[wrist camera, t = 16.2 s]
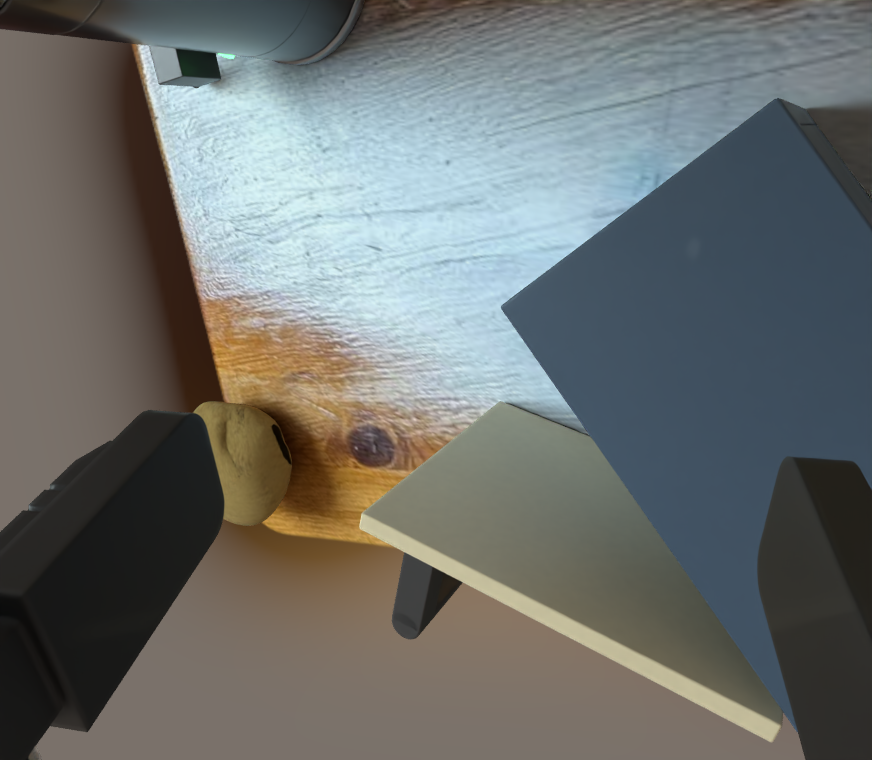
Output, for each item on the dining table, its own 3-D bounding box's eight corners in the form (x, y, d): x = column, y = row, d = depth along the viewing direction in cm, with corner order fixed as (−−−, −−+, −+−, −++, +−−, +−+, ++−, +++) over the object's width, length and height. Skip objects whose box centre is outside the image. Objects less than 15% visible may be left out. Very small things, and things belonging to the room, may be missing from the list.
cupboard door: (753, 621, 35) (712, 851, 24) (477, 494, 40) (343, 631, 30) (802, 520, 32) (782, 726, 21) (500, 400, 38) (361, 512, 27)
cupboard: (813, 520, 32) (798, 735, 21) (617, 243, 32) (498, 307, 21) (1041, 435, 27) (1184, 659, 16) (804, 107, 27) (778, 96, 16)
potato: (316, 516, 46) (223, 549, 48) (318, 420, 50) (233, 456, 53) (243, 474, 41) (144, 514, 43) (253, 372, 45) (163, 414, 48)
